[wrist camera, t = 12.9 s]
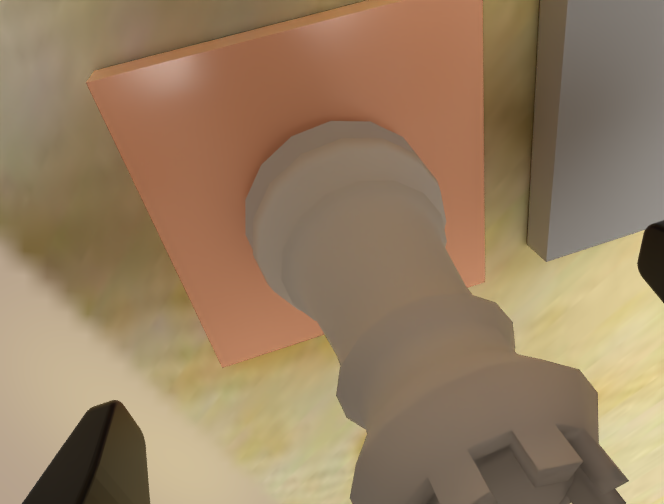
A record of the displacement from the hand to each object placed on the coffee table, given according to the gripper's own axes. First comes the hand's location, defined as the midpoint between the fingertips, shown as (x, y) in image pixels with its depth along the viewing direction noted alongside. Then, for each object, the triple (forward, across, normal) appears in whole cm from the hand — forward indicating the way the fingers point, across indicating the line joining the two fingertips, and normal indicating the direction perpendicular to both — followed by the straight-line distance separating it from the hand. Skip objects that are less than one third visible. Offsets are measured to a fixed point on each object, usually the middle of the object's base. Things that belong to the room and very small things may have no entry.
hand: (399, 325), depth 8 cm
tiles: (+6, -5, 0) cm, 8 cm away
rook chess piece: (+5, 0, 0) cm, 5 cm away
